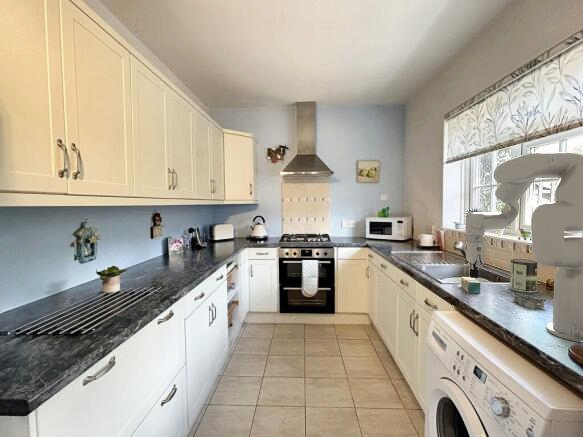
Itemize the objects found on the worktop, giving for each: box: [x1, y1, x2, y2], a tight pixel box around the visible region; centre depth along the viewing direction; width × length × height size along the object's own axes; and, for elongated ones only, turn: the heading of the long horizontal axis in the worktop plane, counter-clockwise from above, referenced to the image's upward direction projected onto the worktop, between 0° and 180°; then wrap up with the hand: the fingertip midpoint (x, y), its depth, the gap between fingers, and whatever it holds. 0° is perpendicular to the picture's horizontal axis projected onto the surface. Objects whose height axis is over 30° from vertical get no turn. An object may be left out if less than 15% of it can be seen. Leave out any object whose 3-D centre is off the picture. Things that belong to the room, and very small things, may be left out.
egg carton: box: [511, 292, 547, 310], centre depth 119 cm, size 11×8×4 cm
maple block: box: [460, 276, 481, 294], centre depth 139 cm, size 5×5×10 cm
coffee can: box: [509, 258, 539, 294], centre depth 138 cm, size 10×10×14 cm
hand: (473, 277), depth 135 cm, fingers closed
